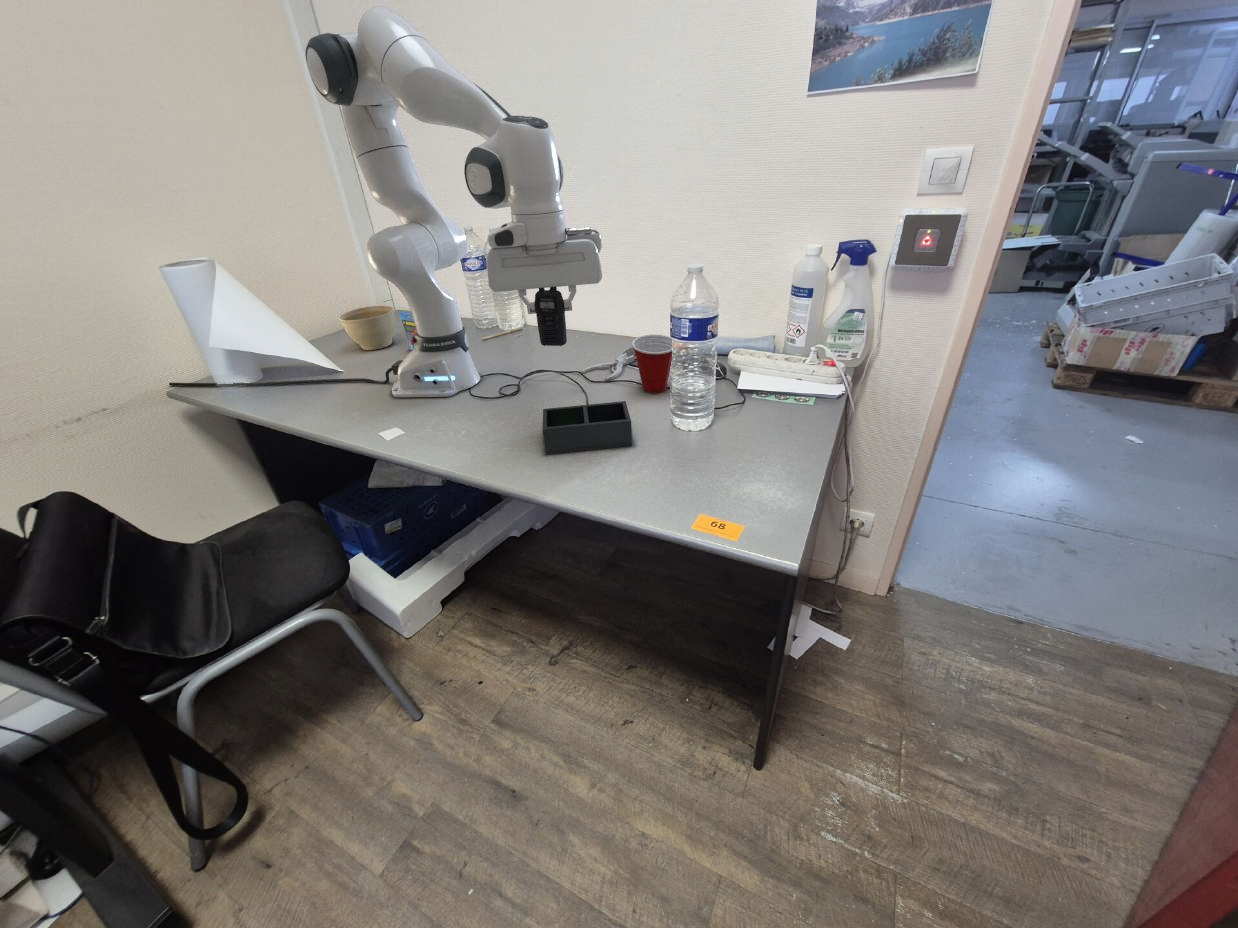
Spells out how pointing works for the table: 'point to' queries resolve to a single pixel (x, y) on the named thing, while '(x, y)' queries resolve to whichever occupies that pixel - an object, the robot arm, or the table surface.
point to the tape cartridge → (408, 326)
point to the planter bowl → (370, 326)
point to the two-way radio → (550, 317)
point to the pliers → (619, 362)
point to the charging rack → (586, 427)
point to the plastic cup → (653, 361)
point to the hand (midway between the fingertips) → (550, 311)
